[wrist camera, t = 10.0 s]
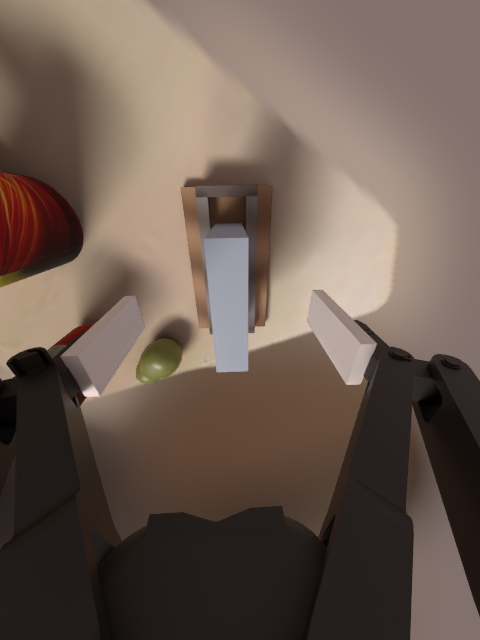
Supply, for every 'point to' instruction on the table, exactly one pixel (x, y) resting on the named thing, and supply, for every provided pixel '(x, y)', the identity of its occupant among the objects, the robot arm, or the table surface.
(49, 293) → the table surface
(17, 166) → the table surface
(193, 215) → the track base
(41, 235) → the mug
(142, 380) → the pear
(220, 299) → the door panel
